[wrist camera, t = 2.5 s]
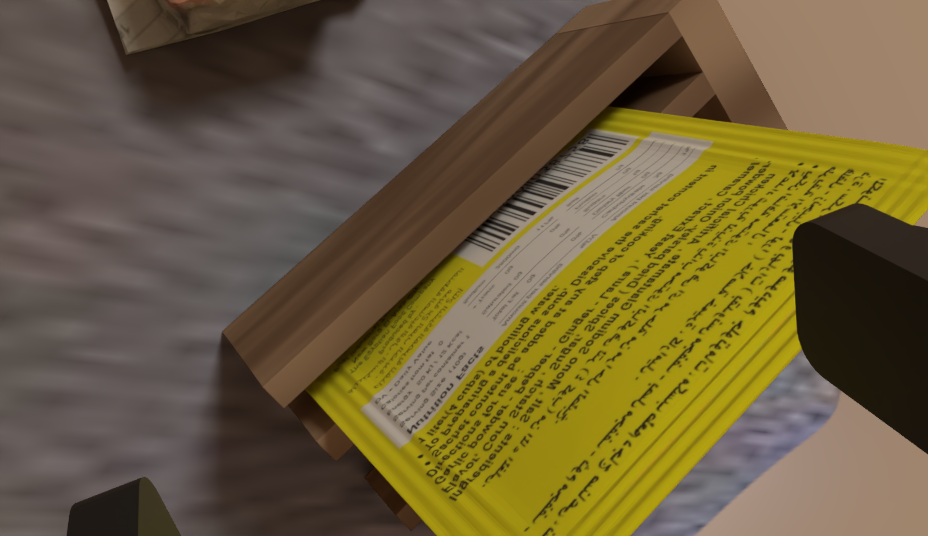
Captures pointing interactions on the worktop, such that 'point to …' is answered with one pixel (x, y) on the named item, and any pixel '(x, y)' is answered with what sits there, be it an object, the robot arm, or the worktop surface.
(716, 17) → the walnut rack
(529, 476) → the food package
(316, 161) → the worktop surface
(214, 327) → the worktop surface
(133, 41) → the packaged product
